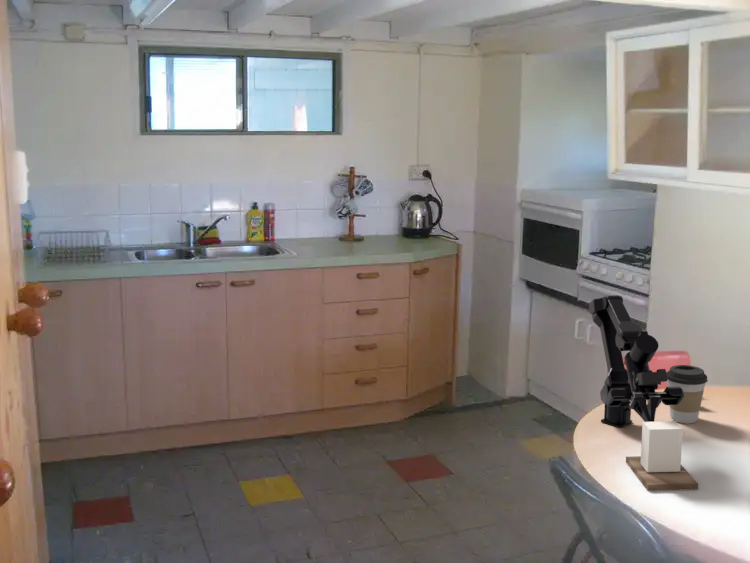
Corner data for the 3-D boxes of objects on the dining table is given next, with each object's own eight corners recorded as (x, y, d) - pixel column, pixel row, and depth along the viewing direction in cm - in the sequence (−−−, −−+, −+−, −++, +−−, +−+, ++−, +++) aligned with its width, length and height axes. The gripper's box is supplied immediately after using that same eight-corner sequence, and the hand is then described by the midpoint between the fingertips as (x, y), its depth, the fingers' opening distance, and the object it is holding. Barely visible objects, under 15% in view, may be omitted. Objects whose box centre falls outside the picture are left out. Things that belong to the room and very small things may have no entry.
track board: (625, 462, 207) (626, 456, 207) (672, 460, 207) (672, 455, 207) (647, 490, 191) (647, 484, 191) (697, 489, 192) (698, 483, 191)
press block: (639, 462, 202) (641, 421, 200) (671, 461, 202) (673, 420, 200) (647, 472, 197) (649, 429, 195) (680, 471, 197) (682, 428, 195)
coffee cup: (701, 413, 239) (704, 364, 236) (708, 427, 228) (711, 376, 225) (660, 411, 242) (663, 362, 238) (665, 425, 231) (668, 375, 228)
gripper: (610, 358, 207) (622, 414, 198) (683, 356, 207) (698, 412, 198) (600, 378, 216) (611, 433, 207) (670, 376, 216) (684, 431, 207)
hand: (651, 427), depth 205 cm, fingers closed
